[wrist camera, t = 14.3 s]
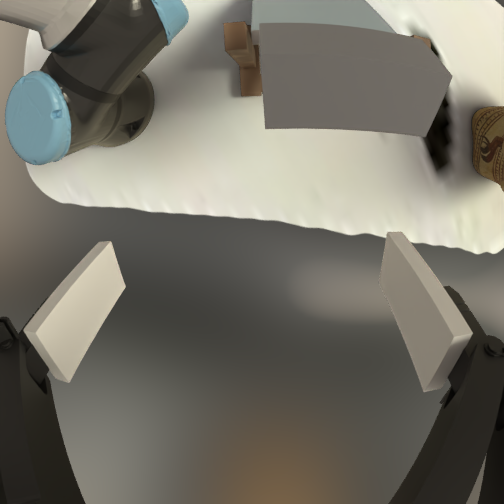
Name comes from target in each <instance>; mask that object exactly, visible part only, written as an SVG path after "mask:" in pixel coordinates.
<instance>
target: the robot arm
mask: <svg viewBox="0 0 504 504" xmlns="http://www.w3.org/2000/svg"><path fill="white" fill-rule="evenodd" d="M188 18H189V14H188V10H187V8H186V6H185V5H184V3H183V2H182V0H0V20H2V21H6V22H9V23H13V24H16V25H19V26H22V27H26V28H29V29H32V30H35V31H38V32H39V34H40V37H41V42H42V46H43V48H44V49H45V50H48V51H51V54H50V55H49V57H48V58H47V60H46V61H45V63H44V64H43V66H42V68H41V69H40V71H32V72H30V73H29V74H27V75H26V76H23V77H22V78H20V79H19V80H18V81H17V82H16V83H15V85H14V86H13V88H12V90H11V92H10V94H9V97H8V100H7V104H6V111H5V124H6V127H7V135H8V138H9V141H10V143H11V145H12V147H13V149H14V150H15V152H16V153H17V154H18V156H19V157H20V158H22V159H23V160H24V161H26V162H28V163H30V164H33V165H43V164H47V163H50V162H56V161H59V160H60V159H62V158H63V157H65V156H67V155H69V154H72V153H74V152H76V151H79V150H81V149H84V148H86V147H89V146H91V145H99V146H103V147H115V146H119V145H122V144H125V143H127V142H130V141H132V140H133V139H135V138H136V137H137V136H139V135H140V134H141V133H142V132H143V130H144V129H145V128H146V126H147V125H148V123H149V121H150V119H151V116H152V113H153V109H154V92H153V88H152V85H151V82H150V80H149V79H148V77H147V76H146V75H145V74H144V73H143V72H142V70H143V69H144V68H145V67H146V66H147V65H148V63H149V62H150V61H151V60H152V59H153V58H154V57H155V56H156V55H157V54H158V53H159V52H160V51H161V50H162V49H163V48H164V47H165V46H168V45H169V44H170V43H171V41H172V39H173V38H174V37H175V36H176V35H177V34H178V33H179V32H180V31H181V30H182V29H183V28H184V27H185V25H186V24H187V22H188ZM379 284H380V286H381V288H382V290H383V293H384V295H385V297H386V299H387V301H388V304H389V306H390V308H391V310H392V313H393V315H394V317H395V320H396V322H397V324H398V327H399V329H400V331H401V334H402V336H403V338H404V341H405V343H406V346H407V348H408V351H409V353H410V356H411V359H412V361H413V364H414V366H415V369H416V372H417V374H418V377H419V380H420V383H421V386H422V388H423V391H424V392H426V391H431V390H435V389H439V388H441V387H442V386H443V385H444V383H445V382H446V380H447V378H448V379H449V381H450V383H451V387H450V388H449V390H448V391H447V393H446V394H445V396H444V397H443V398H442V400H441V401H440V403H441V404H442V403H443V404H442V407H441V409H440V411H439V414H438V416H437V418H436V420H435V423H434V425H433V427H432V429H431V431H430V434H429V435H428V438H427V439H426V442H425V443H424V445H423V447H422V449H421V452H420V453H419V455H418V457H417V459H416V460H415V462H414V464H413V466H412V467H411V469H410V471H409V473H408V474H407V476H406V478H405V479H404V481H403V482H402V484H401V486H400V487H399V489H398V490H397V492H396V493H395V495H394V497H393V498H392V499H391V501H390V502H389V504H466V502H467V500H468V498H469V496H470V493H471V491H472V489H473V487H474V484H475V482H476V479H477V477H478V475H479V472H480V469H481V467H482V464H483V461H484V459H485V456H486V462H485V469H484V476H483V481H482V486H481V491H480V496H479V501H478V504H504V343H503V342H502V341H501V340H500V339H498V338H496V337H494V336H490V335H488V336H486V334H485V333H484V331H483V329H482V328H481V326H480V324H479V323H478V322H477V320H476V318H475V317H474V315H473V314H472V312H471V311H469V308H468V306H467V305H466V304H465V302H464V300H463V299H462V297H461V296H460V295H459V293H457V292H456V291H455V290H454V289H452V288H451V287H450V286H445V287H443V286H442V284H441V283H440V282H439V280H438V279H437V277H436V276H435V275H434V273H433V272H432V270H431V269H430V268H429V266H428V265H427V264H426V262H425V261H424V260H423V258H422V257H421V256H420V254H419V253H418V252H417V250H416V249H415V248H414V247H413V245H412V244H411V243H410V241H409V240H408V239H407V238H406V236H405V235H404V234H403V233H402V232H387V237H386V243H385V250H384V256H383V261H382V267H381V273H380V277H379ZM125 287H126V286H125V284H124V281H123V278H122V275H121V272H120V269H119V266H118V262H117V259H116V257H115V253H114V250H113V246H112V243H111V241H109V242H99V243H98V244H97V245H96V246H95V247H94V248H93V249H92V250H91V251H90V252H89V253H88V254H87V255H86V256H85V257H84V258H83V259H82V260H81V262H80V263H79V264H78V265H77V266H76V267H75V268H74V269H73V270H72V272H71V273H70V274H69V275H68V276H67V277H66V278H65V279H64V280H63V282H62V283H61V284H60V285H59V286H58V287H57V289H56V290H55V291H54V292H53V293H52V294H51V296H49V297H48V298H47V299H46V300H45V301H44V302H43V303H42V304H41V306H40V308H38V309H37V311H36V312H35V314H33V316H32V317H31V318H30V319H29V321H28V322H27V323H26V325H25V326H24V327H23V329H22V330H21V331H20V333H19V334H18V333H17V331H16V329H15V328H14V326H13V324H12V323H11V321H10V319H9V318H7V317H1V318H0V504H85V501H84V499H83V497H82V494H81V492H80V489H79V487H78V484H77V481H76V479H75V476H74V473H73V470H72V467H71V464H70V461H69V458H68V455H67V452H66V448H65V445H64V441H63V438H62V434H61V430H60V426H59V422H58V418H57V414H56V409H55V405H54V400H53V394H52V390H51V384H50V380H49V378H48V376H47V373H48V371H49V370H50V371H51V372H52V374H53V375H54V377H55V378H56V379H58V380H62V381H65V382H70V380H71V378H72V377H73V375H74V373H75V371H76V369H77V367H78V365H79V364H80V362H81V360H82V358H83V356H84V355H85V353H86V351H87V349H88V348H89V345H90V344H91V342H92V340H93V339H94V337H95V335H96V333H97V332H98V330H99V329H100V327H101V325H102V324H103V322H104V320H105V319H106V317H107V315H108V313H109V312H110V311H111V309H112V307H113V306H114V304H115V303H116V301H117V299H118V298H119V296H120V295H121V293H122V292H123V290H124V288H125ZM486 453H487V455H486Z"/></svg>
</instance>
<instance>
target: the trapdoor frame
mask: <svg viewBox="0 0 504 504" xmlns="http://www.w3.org/2000/svg"><path fill="white" fill-rule="evenodd" d="M410 37H414V38H418V39H422V40H423V41H424V43H425V44H426V45H427V46H428V47H429V48H430V49H431V44H430V39H427V38H423V37H420V36H416V35H413V36H410ZM224 38H225V51H226V52H227V53H228V54H229V55H230V56H231V57H232V58H233V59H234V60H235V61H236V62H237V63H238V64H239V67H240V82H241V96H260V95H261V92H263V89H262V77H261V74H260V62H259V46H258V45H253V43H252V38H251V25H246V23H245V21H244V22H233V23H224Z"/></svg>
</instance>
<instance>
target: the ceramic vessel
mask: <svg viewBox="0 0 504 504" xmlns="http://www.w3.org/2000/svg"><path fill="white" fill-rule="evenodd" d="M472 131H473V165H474V167H475V169H476V171H477V172H478V173H479V174H481V175H482V176H484V177H486V178H488V179H490V180H492V181H494V182H496V183H498V184H499V185H500V186H501V188H502V190H503V191H504V106H497V107H486V108H482V109H480V110H478V111H477V112H476V113H475V114H474V116H473V118H472Z"/></svg>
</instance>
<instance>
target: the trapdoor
mask: <svg viewBox="0 0 504 504" xmlns="http://www.w3.org/2000/svg"><path fill="white" fill-rule="evenodd" d="M251 38H252V43H253V45H259V44H260V64H261V77H262V89H263V102H264V116H265V129H289V128H308V129H343V130H361V131H375V132H386V133H396V134H405V135H413V136H421V137H426V135H427V133H428V131H429V129H430V126H431V124H432V122H433V120H434V118H435V116H436V114H437V111H438V109H439V107H440V105H441V102H442V100H443V98H444V96H445V93H446V91H447V89H448V86H449V84H450V81H451V79H452V75H451V74H450V72H449V71H448V70H447V69H446V67H445V66H444V65H443V64H442V62H441V61H440V60H439V59H438V57H437V56H436V55H435V54H434V53H433V52H432V50H431V49H430V48H429V47H428V46H427V45H426V44H425V43H424V41H423V40H422V39H418V38H414V37H409V36H405V35H400V34H397V33H396V32H395V31H394V30H393V29H392V28H391V26H390V25H389V24H388V23H387V22H386V21H385V20H384V19H383V18H382V17H381V16H380V15H379V14H378V13H377V12H376V11H375V10H374V9H373V8H372V7H371V6H370V5H369V4H368V3H367V2H366V1H365V0H253V2H252V21H251Z"/></svg>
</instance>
